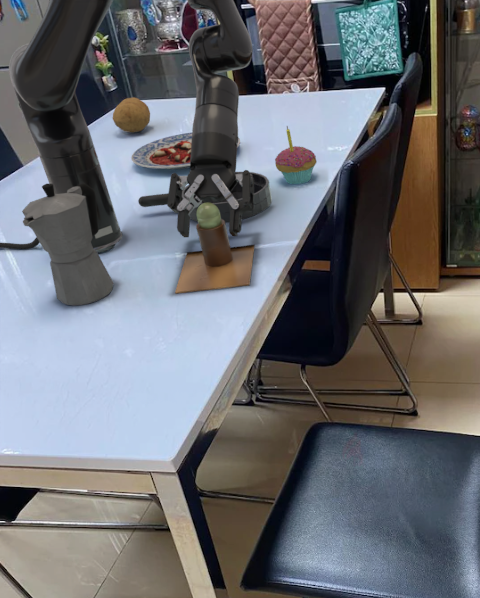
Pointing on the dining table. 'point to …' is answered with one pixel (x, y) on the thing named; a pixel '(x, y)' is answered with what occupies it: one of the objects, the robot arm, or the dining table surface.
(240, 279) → the placemat
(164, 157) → the ceramic plate
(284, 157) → the cupcake
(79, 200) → the coffeepot
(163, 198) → the pan handle
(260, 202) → the pan
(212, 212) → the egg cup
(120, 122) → the potato
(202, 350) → the dining table surface
